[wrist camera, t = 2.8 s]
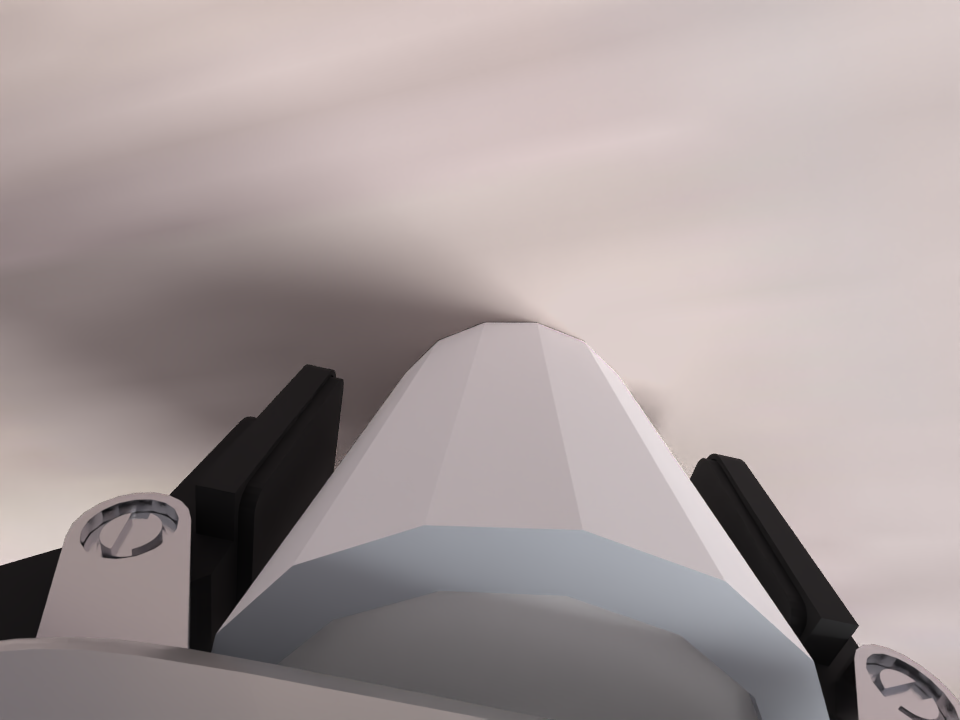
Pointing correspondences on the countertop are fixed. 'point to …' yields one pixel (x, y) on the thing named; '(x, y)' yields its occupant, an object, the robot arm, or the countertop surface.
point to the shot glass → (524, 554)
